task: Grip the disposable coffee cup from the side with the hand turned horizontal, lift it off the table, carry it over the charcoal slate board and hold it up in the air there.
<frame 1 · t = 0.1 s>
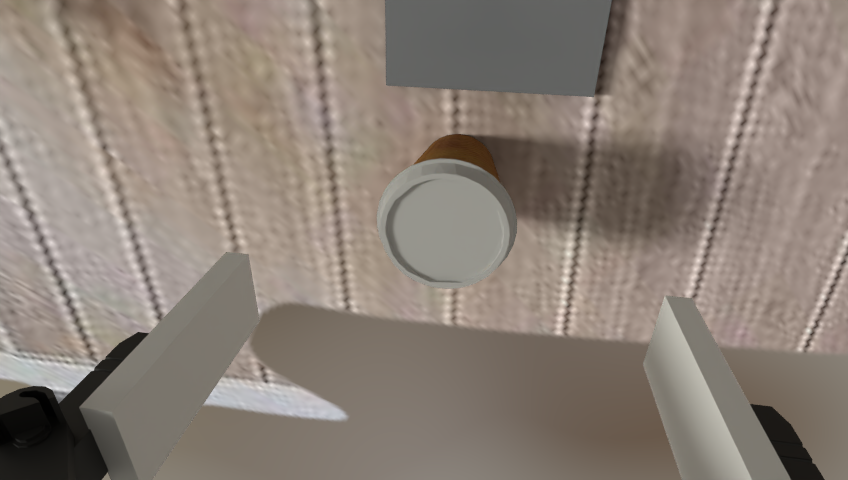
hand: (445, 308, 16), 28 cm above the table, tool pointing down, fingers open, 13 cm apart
disposable coffee cup: (457, 168, 44), on the table
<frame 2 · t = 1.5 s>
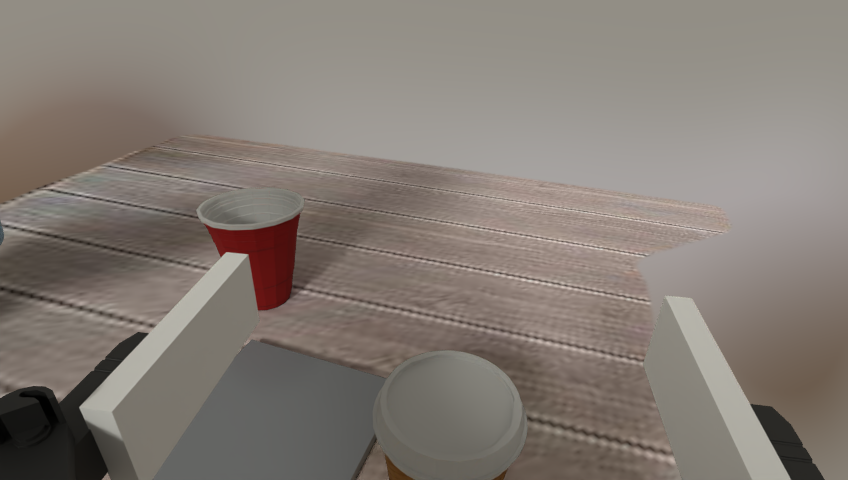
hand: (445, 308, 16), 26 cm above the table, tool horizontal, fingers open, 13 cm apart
plastic cup: (265, 295, 59), on the table
slate board: (277, 432, 42), on the table
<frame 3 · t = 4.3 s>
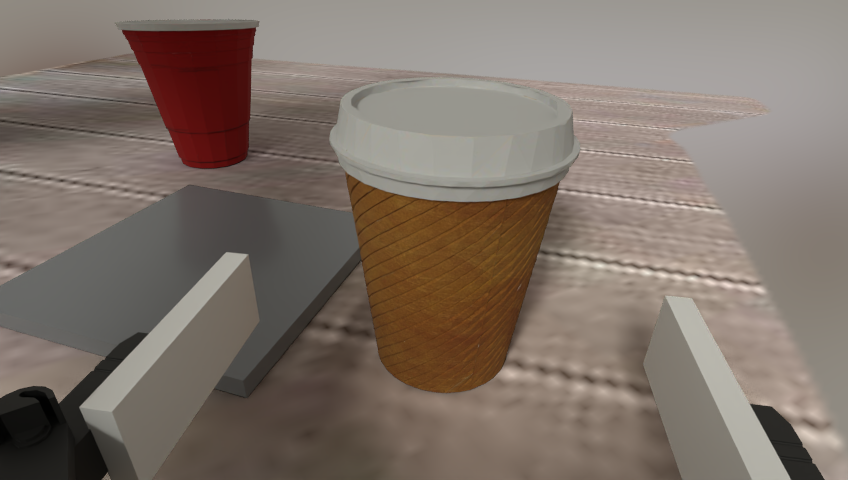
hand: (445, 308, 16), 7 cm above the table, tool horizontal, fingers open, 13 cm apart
plastic cup: (215, 158, 47), on the table
slate board: (211, 268, 30), on the table
disposable coffee cup: (441, 348, 25), on the table
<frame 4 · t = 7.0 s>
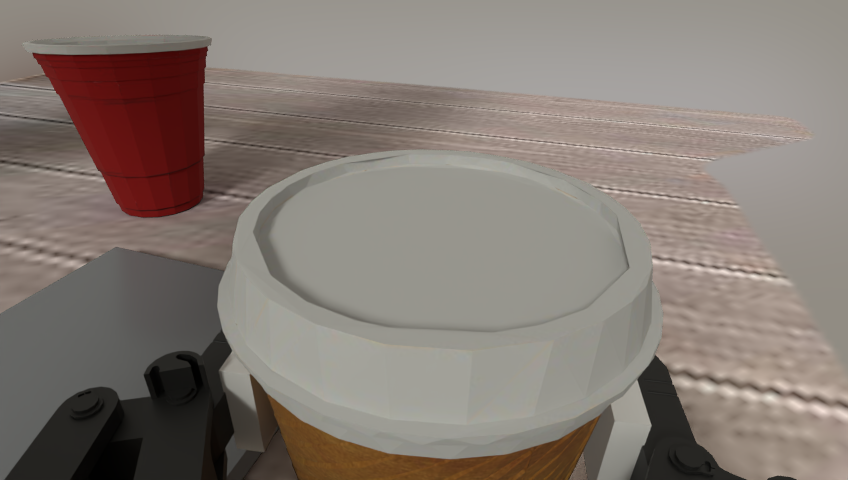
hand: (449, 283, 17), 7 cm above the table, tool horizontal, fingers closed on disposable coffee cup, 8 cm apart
plastic cup: (164, 202, 39), on the table
slate board: (117, 383, 22), on the table
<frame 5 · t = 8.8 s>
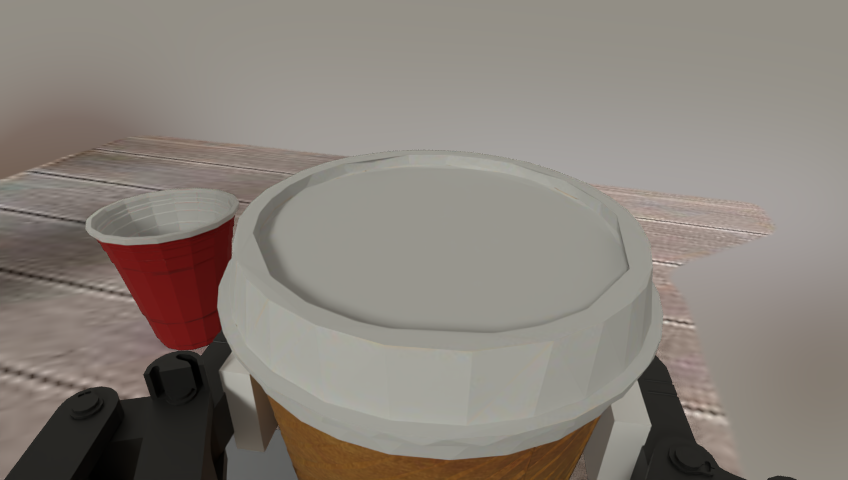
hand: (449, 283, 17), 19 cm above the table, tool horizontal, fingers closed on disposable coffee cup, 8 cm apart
plastic cup: (196, 329, 45), on the table
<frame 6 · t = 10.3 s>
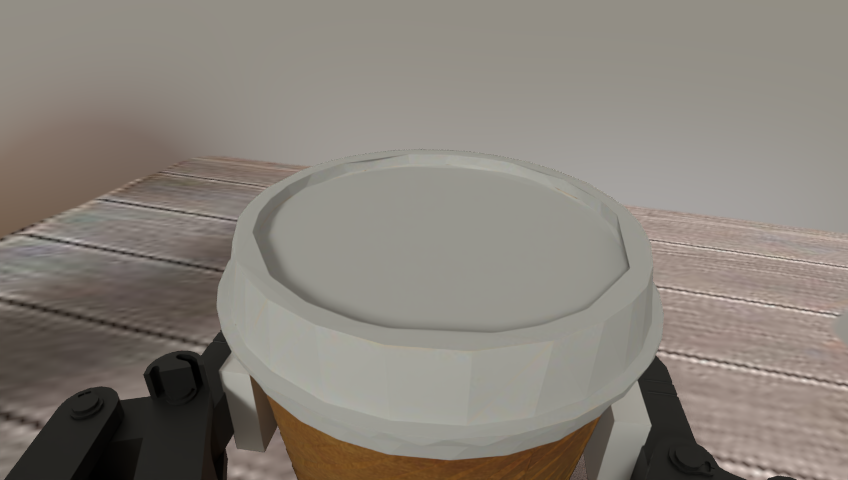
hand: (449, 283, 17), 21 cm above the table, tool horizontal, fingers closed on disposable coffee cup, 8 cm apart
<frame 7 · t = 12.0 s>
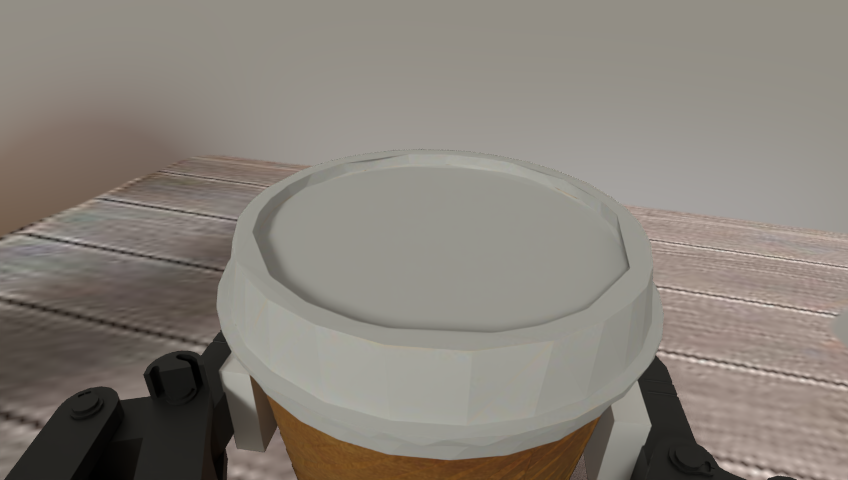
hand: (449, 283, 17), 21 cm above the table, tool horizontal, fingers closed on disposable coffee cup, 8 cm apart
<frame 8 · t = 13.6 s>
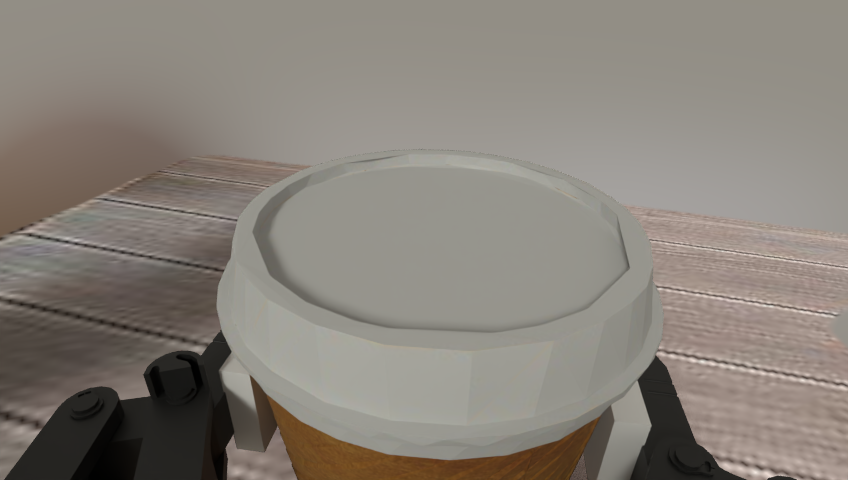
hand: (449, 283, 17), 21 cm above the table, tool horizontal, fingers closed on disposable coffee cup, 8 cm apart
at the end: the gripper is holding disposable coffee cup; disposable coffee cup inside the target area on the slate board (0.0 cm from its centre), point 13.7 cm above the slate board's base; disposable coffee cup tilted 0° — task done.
